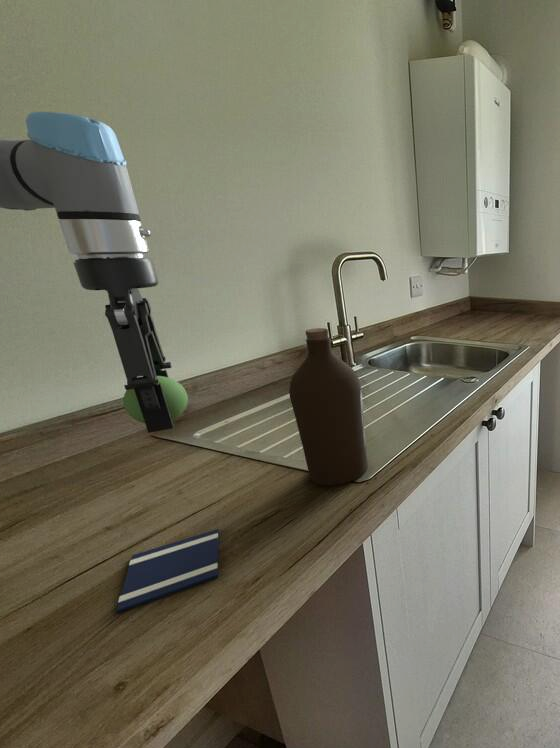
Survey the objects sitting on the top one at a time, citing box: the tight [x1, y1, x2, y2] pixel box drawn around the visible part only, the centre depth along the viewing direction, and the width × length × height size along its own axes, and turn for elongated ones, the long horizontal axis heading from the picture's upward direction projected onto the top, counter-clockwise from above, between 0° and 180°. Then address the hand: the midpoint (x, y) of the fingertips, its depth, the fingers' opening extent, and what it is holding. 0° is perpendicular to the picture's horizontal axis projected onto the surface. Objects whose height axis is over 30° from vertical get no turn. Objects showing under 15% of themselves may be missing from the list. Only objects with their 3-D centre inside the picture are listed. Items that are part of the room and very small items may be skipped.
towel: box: [115, 528, 220, 614], centre depth 50 cm, size 10×9×1 cm
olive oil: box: [288, 327, 369, 487], centre depth 67 cm, size 11×11×25 cm
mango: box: [122, 376, 189, 424], centre depth 59 cm, size 7×7×7 cm
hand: (164, 420), depth 60 cm, fingers closed on mango, 7 cm apart
